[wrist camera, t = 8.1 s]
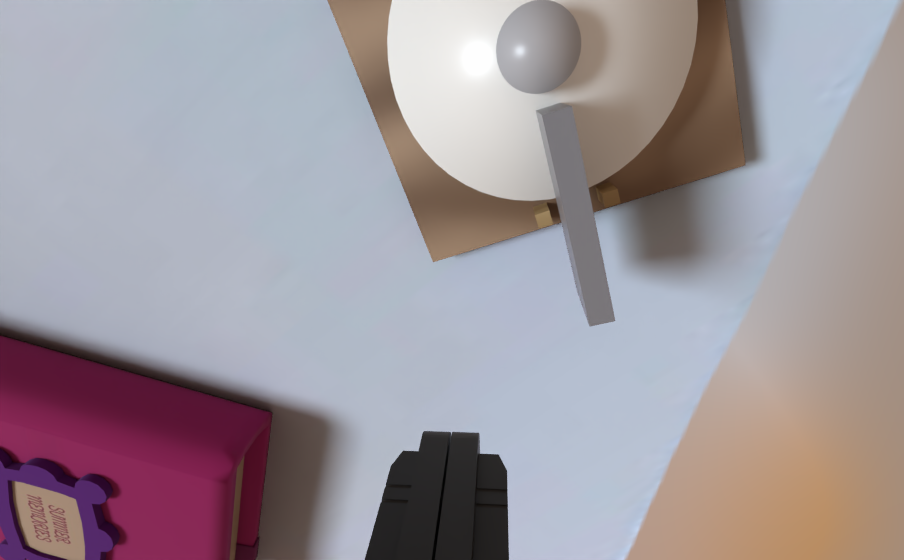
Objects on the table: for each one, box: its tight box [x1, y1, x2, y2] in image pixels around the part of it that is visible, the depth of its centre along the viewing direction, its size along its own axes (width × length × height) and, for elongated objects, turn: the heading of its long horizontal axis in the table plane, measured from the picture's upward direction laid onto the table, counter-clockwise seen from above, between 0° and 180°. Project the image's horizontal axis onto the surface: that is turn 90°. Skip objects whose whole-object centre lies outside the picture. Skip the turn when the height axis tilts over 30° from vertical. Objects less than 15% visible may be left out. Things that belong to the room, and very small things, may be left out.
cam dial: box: [387, 0, 698, 326], centre depth 21 cm, size 20×14×6 cm
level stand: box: [328, 0, 745, 262], centre depth 22 cm, size 18×18×3 cm
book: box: [0, 335, 272, 560], centre depth 37 cm, size 21×28×8 cm
